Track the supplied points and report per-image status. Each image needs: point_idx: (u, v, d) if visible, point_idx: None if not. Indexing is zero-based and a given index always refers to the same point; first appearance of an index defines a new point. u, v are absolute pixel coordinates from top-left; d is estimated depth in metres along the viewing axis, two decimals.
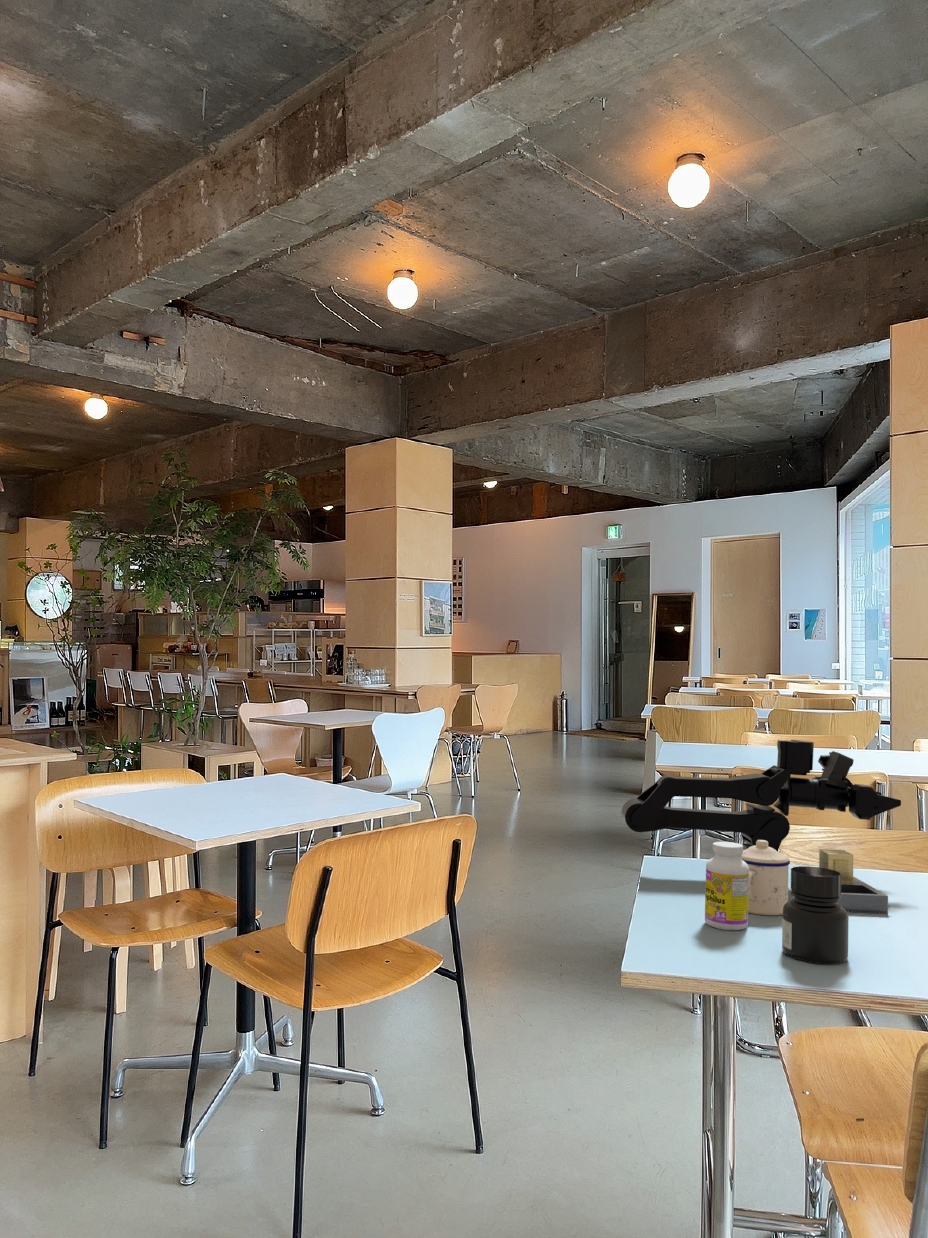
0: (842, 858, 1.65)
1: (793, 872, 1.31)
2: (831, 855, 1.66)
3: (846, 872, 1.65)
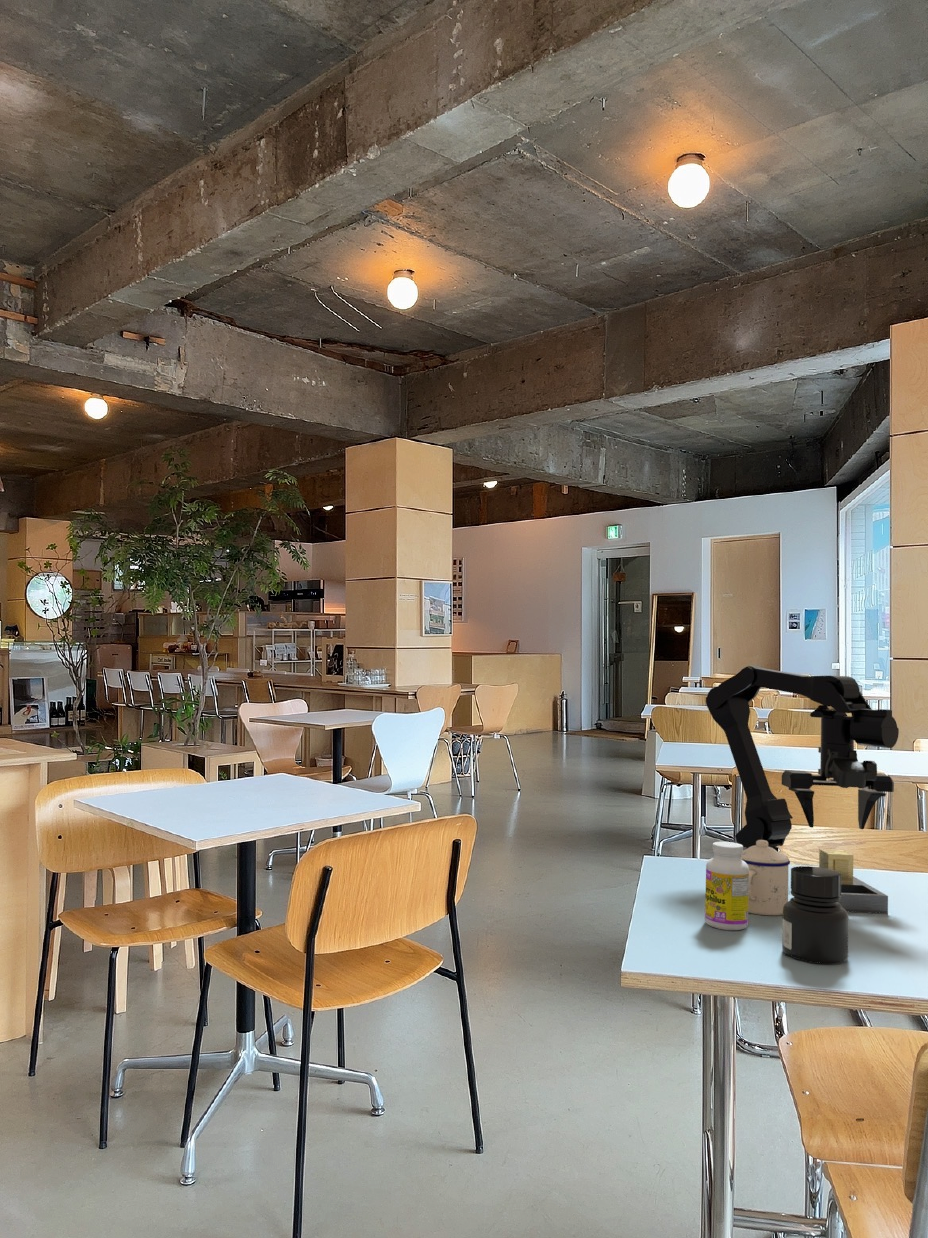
0: (842, 858, 1.65)
1: (793, 872, 1.31)
2: (831, 855, 1.66)
3: (846, 872, 1.65)
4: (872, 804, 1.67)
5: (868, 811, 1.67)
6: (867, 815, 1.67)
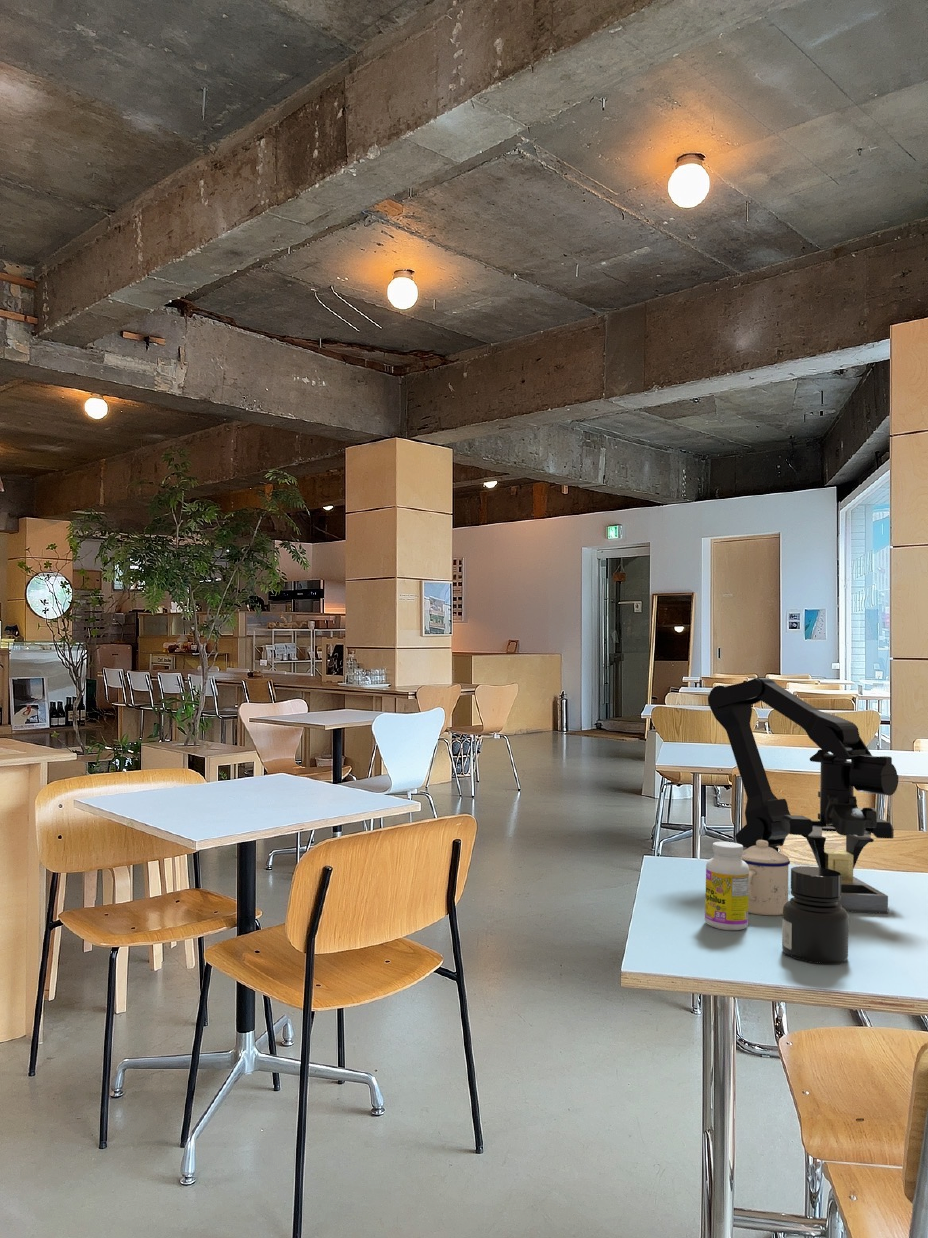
0: (842, 858, 1.65)
1: (793, 872, 1.31)
2: (831, 855, 1.66)
3: (846, 872, 1.65)
4: (860, 850, 1.66)
5: (856, 857, 1.66)
6: (855, 861, 1.67)
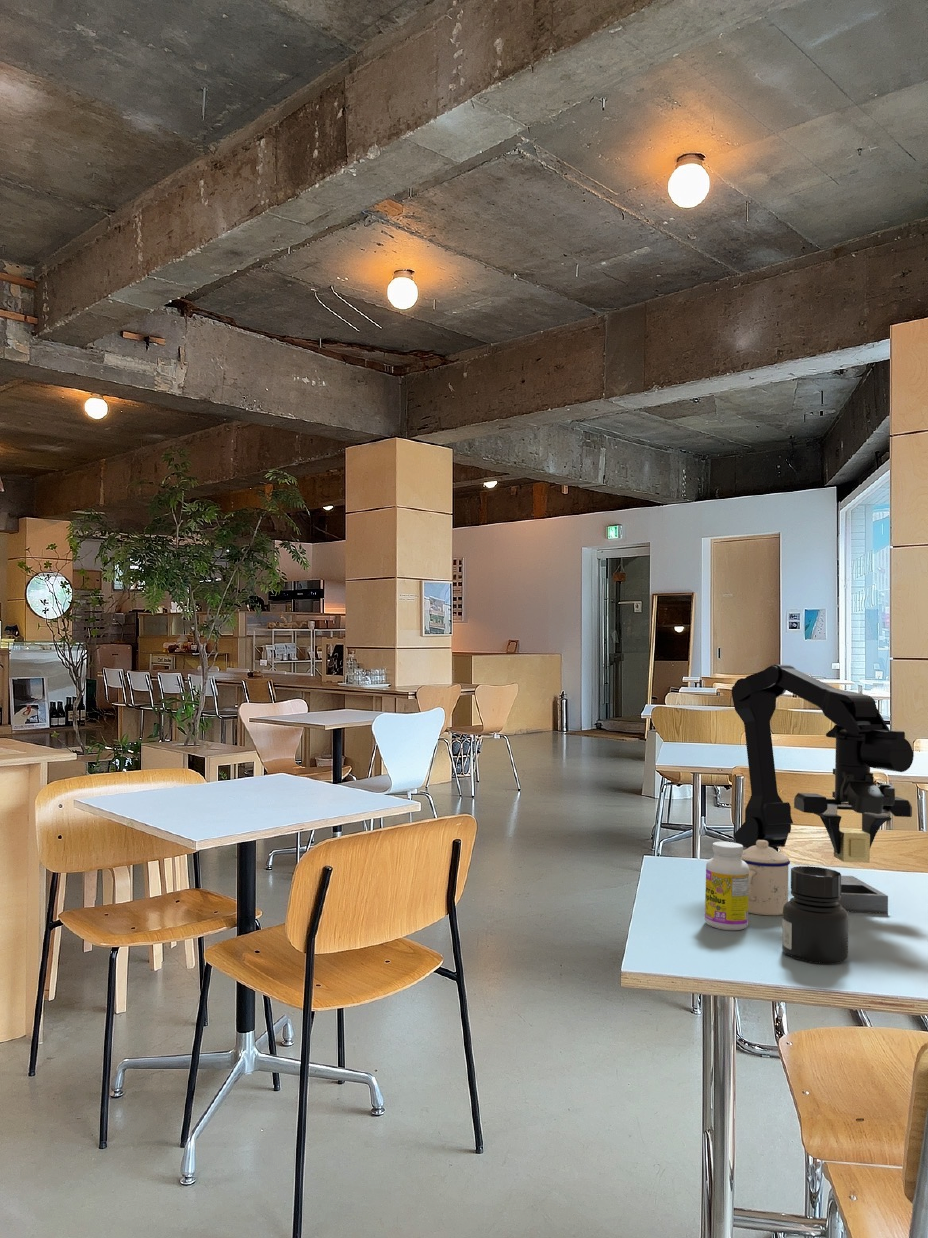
0: (858, 837, 1.59)
1: (793, 872, 1.31)
2: (847, 834, 1.59)
3: (862, 852, 1.58)
4: (876, 829, 1.59)
5: (872, 836, 1.60)
6: (871, 840, 1.60)
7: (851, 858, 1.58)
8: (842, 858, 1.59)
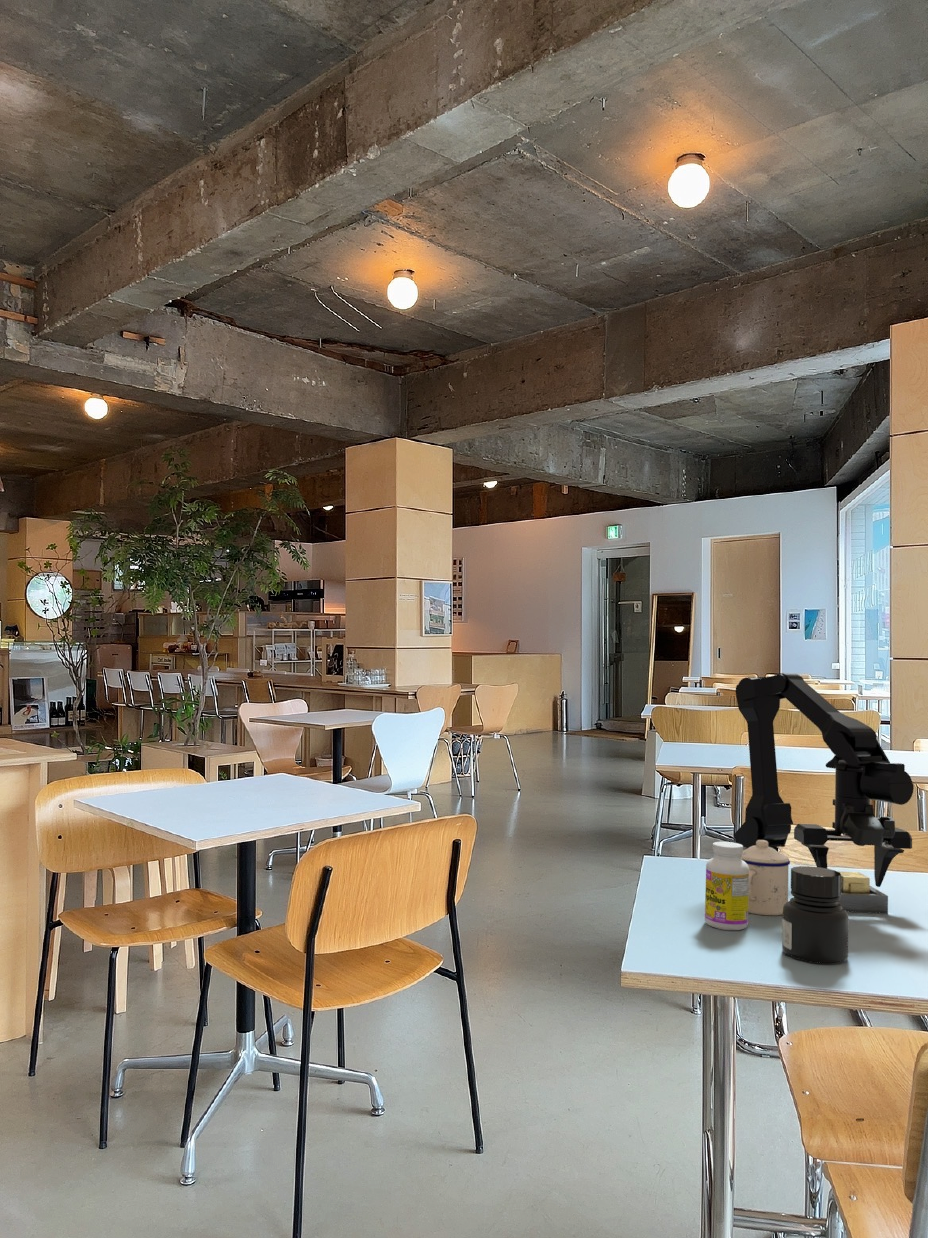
0: (858, 881, 1.58)
1: (793, 872, 1.31)
2: (846, 878, 1.58)
3: None
4: (889, 861, 1.59)
5: (885, 868, 1.59)
6: (884, 872, 1.59)
7: None
8: None
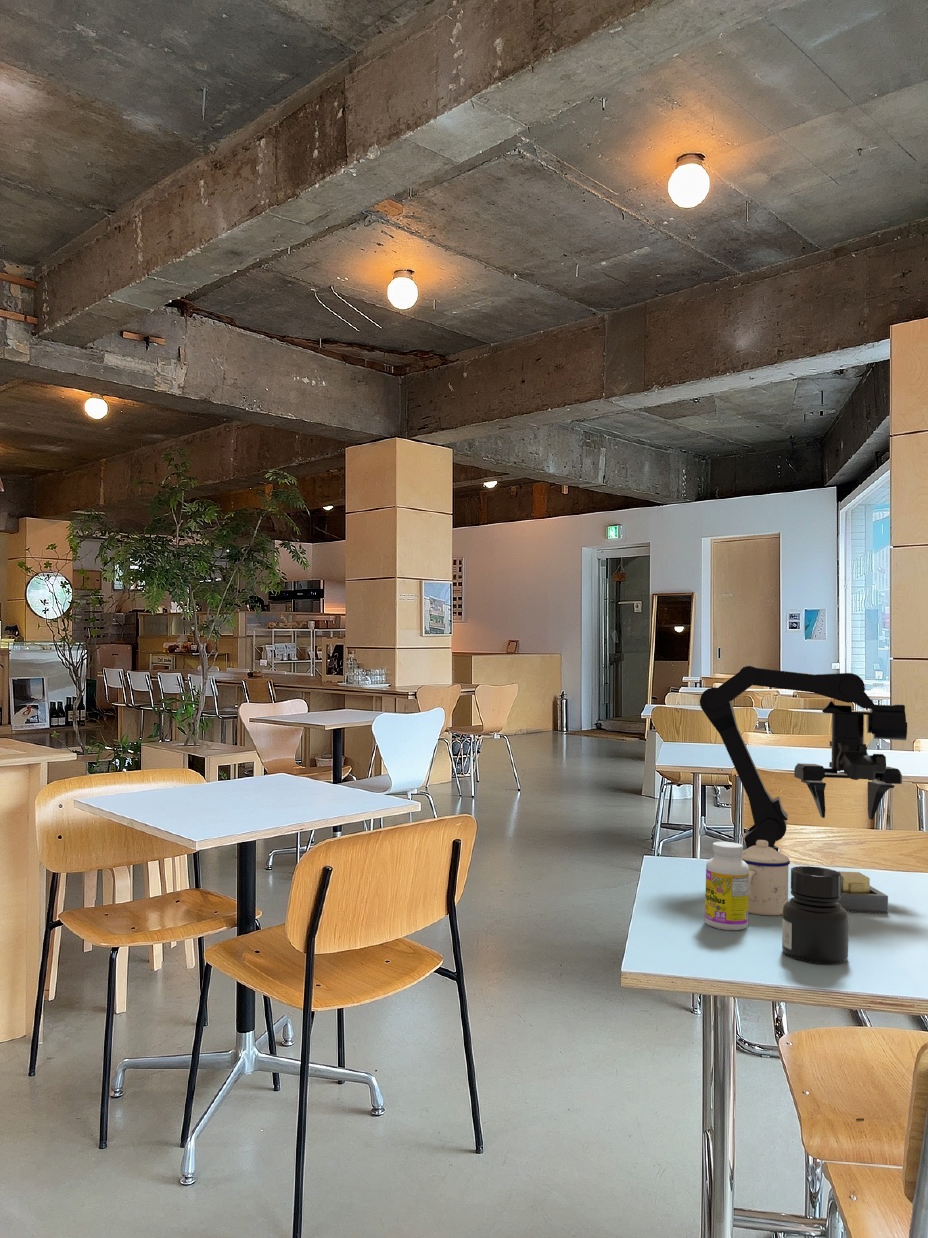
0: (858, 881, 1.58)
1: (793, 872, 1.31)
2: (846, 878, 1.58)
3: None
4: (881, 795, 1.74)
5: (877, 802, 1.75)
6: (876, 806, 1.75)
7: None
8: None
